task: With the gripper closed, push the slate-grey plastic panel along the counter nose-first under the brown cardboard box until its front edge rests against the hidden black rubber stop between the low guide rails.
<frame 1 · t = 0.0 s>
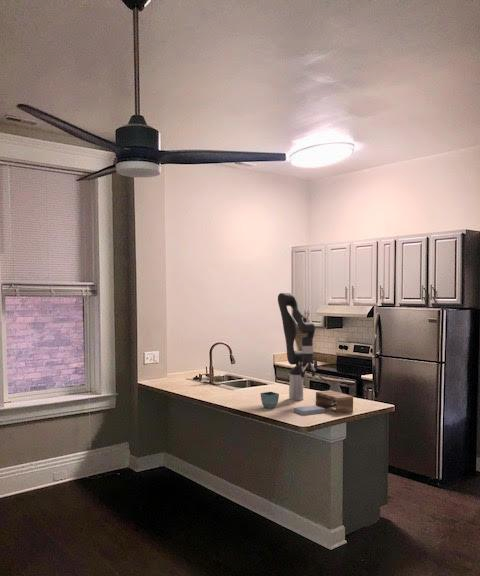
hand: (307, 377, 333), 17 cm above the worktop, tool pointing down, fingers open, 8 cm apart
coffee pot: (329, 399, 344), on the worktop
brown cardboard box: (334, 409, 314), on the worktop
flower pot: (269, 407, 318), on the worktop
panel: (309, 413, 306), on the worktop
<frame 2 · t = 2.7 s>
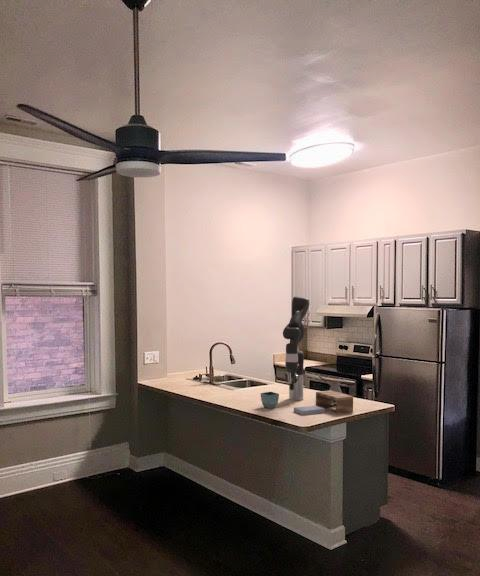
hand: (291, 389, 300), 15 cm above the worktop, tool pointing down, fingers closed
nothing on the worktop moved.
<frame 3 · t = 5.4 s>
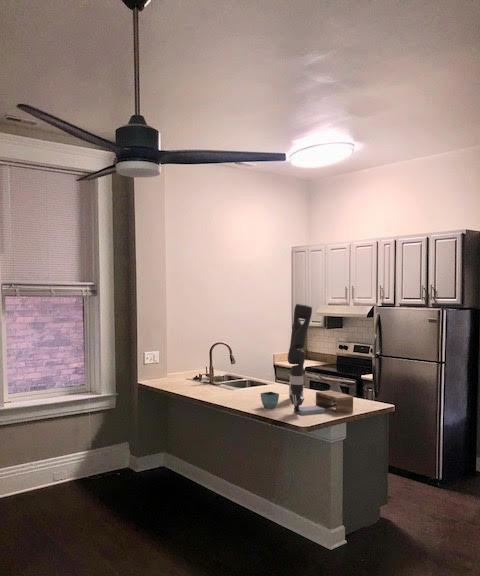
hand: (296, 411, 302), 1 cm above the worktop, tool pointing down, fingers closed
panel: (309, 413, 306), on the worktop, touching gripper
everything else where it was.
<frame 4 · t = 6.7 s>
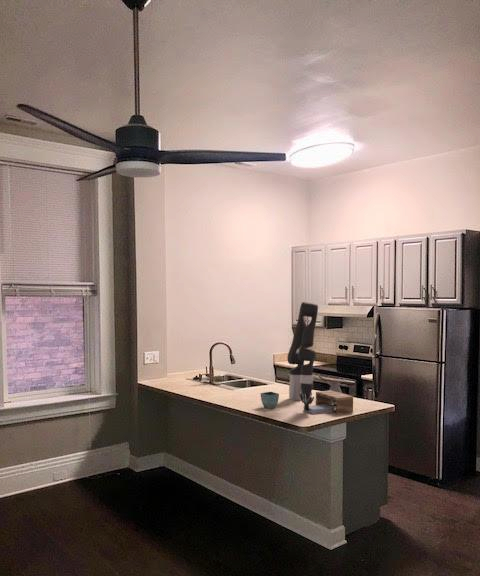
hand: (306, 410, 305), 1 cm above the worktop, tool pointing down, fingers closed
panel: (319, 411, 309), on the worktop
everything else where it was.
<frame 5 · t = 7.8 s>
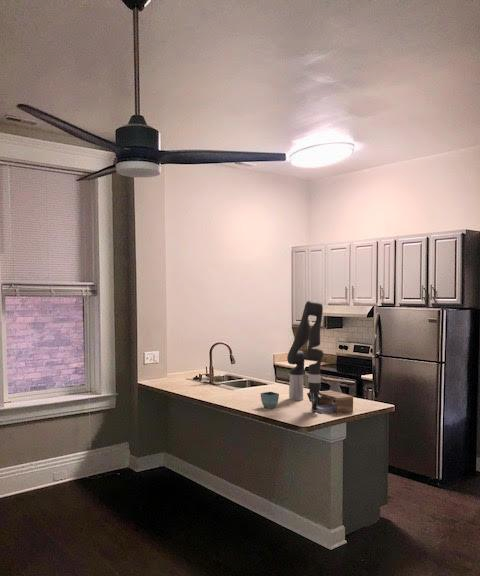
hand: (314, 409, 307), 1 cm above the worktop, tool pointing down, fingers closed
panel: (326, 411, 311), on the worktop
everything else where it was.
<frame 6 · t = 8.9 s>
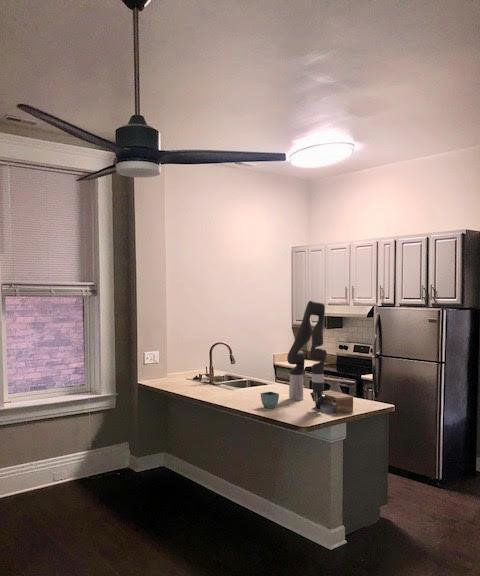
hand: (317, 409, 308), 1 cm above the worktop, tool pointing down, fingers closed
panel: (330, 411, 312), on the worktop
everything else where it was.
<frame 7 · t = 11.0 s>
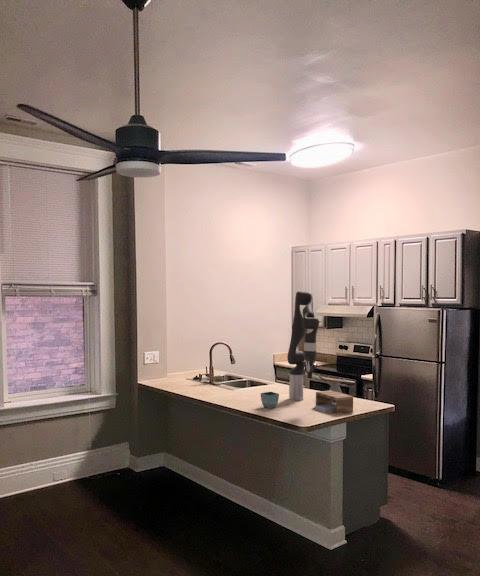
hand: (309, 377, 309), 21 cm above the worktop, tool pointing down, fingers closed
nothing on the worktop moved.
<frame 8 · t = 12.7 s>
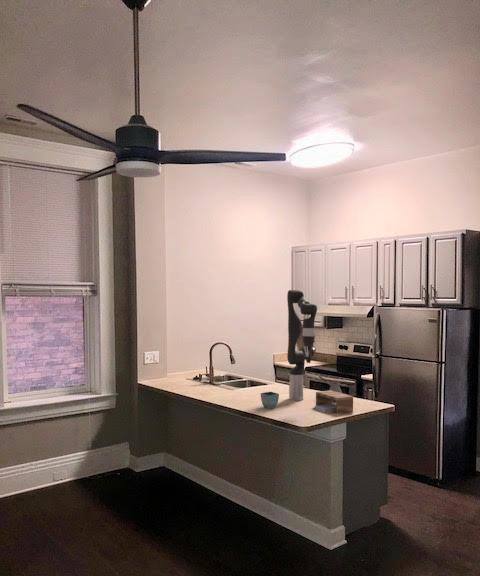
hand: (308, 362, 316), 29 cm above the worktop, tool pointing down, fingers closed
nothing on the worktop moved.
at the end: panel 0.9 cm from the target spot on the brown cardboard box, point -0.5 cm above the brown cardboard box's base; panel tilted 0°; panel moved 15.5 cm from its start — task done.
